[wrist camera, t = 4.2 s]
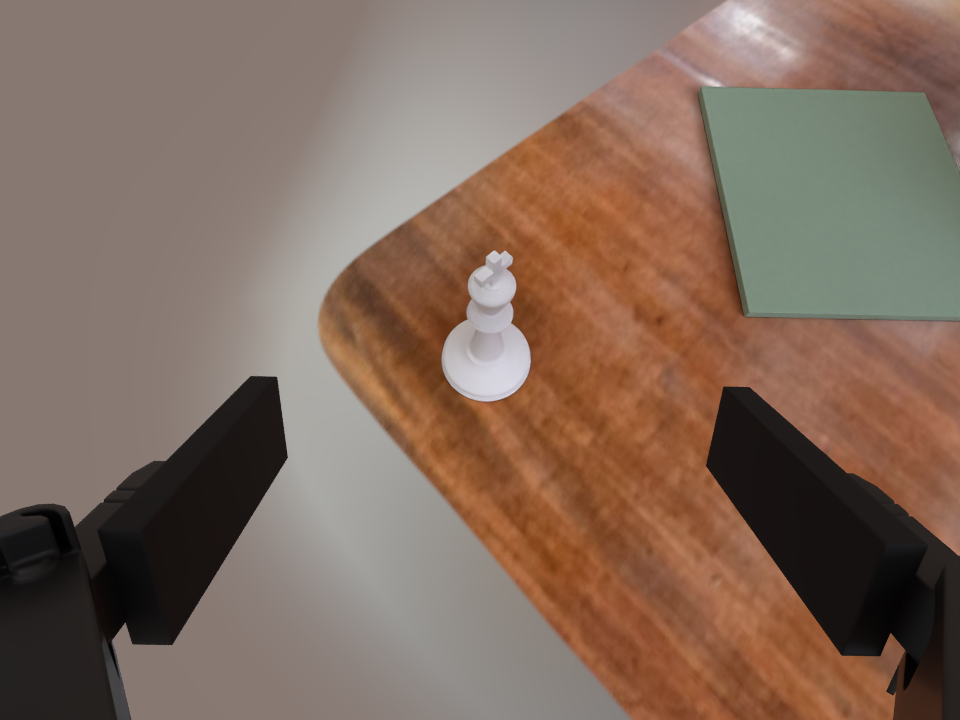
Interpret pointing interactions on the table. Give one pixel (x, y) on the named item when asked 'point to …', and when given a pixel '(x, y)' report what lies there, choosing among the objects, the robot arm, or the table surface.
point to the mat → (836, 202)
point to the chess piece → (488, 337)
